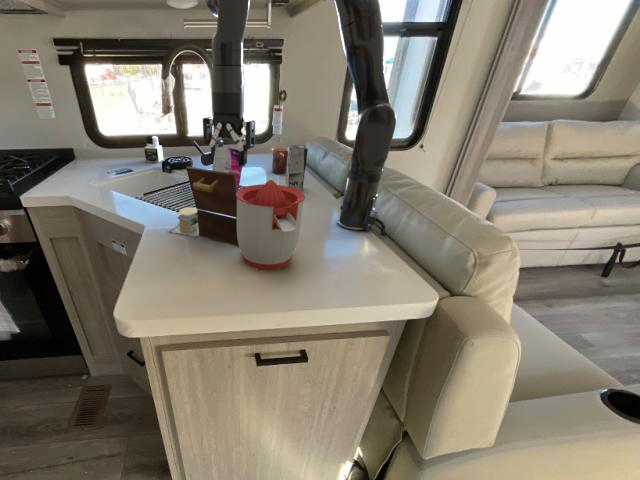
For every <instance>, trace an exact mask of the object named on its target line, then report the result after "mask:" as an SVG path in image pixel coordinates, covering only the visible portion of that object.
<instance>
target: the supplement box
mask: <svg viewBox="0 0 640 480" xmlns="http://www.w3.org/2000/svg"><path fill="white" fill-rule="evenodd" d="M239 151H240V149H237V148H232V147H229V146H218V147H216V148H215V154H214V162H213V161H212V169H211V170H213V171H220V172H226V173H232V174H236V180H237V187H238V190H239V189H240V184H241V178H242V171H243V167H239Z"/></svg>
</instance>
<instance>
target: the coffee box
mask: <svg viewBox="0 0 640 480" xmlns="http://www.w3.org/2000/svg"><path fill="white" fill-rule="evenodd" d="M288 148H289V149H288V160H287V171H286V172H285V173H286V174H285V184H284V186H288V187H292V188H295V189H298V190H300V191H301V192H303V191H304V183H305V176H306V175H305V174H306V168H307V158H308V150H309V148H308V147H307V146H306V145H305V144H288Z"/></svg>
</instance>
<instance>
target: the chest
mask: <svg viewBox="0 0 640 480" xmlns="http://www.w3.org/2000/svg"><path fill="white" fill-rule="evenodd" d="M197 213H198V228H199V235H198V236H199V237H203V238H208V239H211V240H214V241H219V242H222V243H225V244H230V245H234V246H237V247H239V245H238V239H237V218H236V217H231V216H227V215H222V214H218V213H213V212H209V211H204V210H200V209H198V210H197Z"/></svg>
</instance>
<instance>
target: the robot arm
mask: <svg viewBox="0 0 640 480" xmlns="http://www.w3.org/2000/svg"><path fill="white" fill-rule="evenodd" d="M204 2H205V4H206V6H207V9H208V11H209V12H210V13H211V14H212V15H213V16H215V17H217V23H216V30H215V32H214V33H213V35H212V36H211V105H212V112H213V117H211V116H208V117H203V118H202V134H203V135H202V137H203V144H204V145H208V146H209V147H210V158H211V161H212V163H213V162H214V154H215V148H216V147H219V145H220V143H221V141H222V140H223V139H229V140H233V142H234V143H235V144H236V145H237V147H238V150H239V167H242V168H243V167H245V166H246V164H247V163H248V151H249V150H250V149H254V148H255V146H256V121H255V120H245V119H244V112H245V73H244V39H245V36H246V30H247V26H248V19H249V13H250V7H251V5H250V4H251V0H205V1H204ZM333 2H334V5H335V10H336V14H337V20H338V27H339V31H340V32H339V34H340V39H341V43H342V44H341V45H342V49H343V53H344V57H345V61H346V64H347V68H348V71H349V74H350V77H351V80H352V83H353V86H354V91H355V96H356V97H355V98H356V105H357V108H356V109H357V128H356V133H355V138H354V143H353V148H352V152H351V157H350V162H349V167H348V172H347V178H346V183H345V187H344V194H343V198H342V204H341V205H340V208H339V209H340V210H339V211H340V214H339V216H338V217H339V218H338V225H339V226H340V227H342V228H343V229H347V230H350V231H365V232H366V231H367V230H368V229H369V228H370V226H374V225H375V224H376V222H377V223H378V224H379V225H380V227H381V229H380V234H381V235H382V236H386V234H387V232H386V231H385V230H386V225H385V222H383V220H381V219H380V218H379V212H377V211H375V208H376V204H377V200H378V196H379V195H378V192H379V187H380V184H381V181H382V176H383V172H384V168H385V164H386V161H387V159H388V156H389V152H390V149H391V146H392V141H393V138H394V134H395V130H396V125H397V115H396V111H395V110H394V109H393V107H392V104H391V101H390V97H389V93H388V89H387V84H386V78H385V38H384V37H385V36H384V25H383V19H382V12H381V5H380V1H379V0H334V1H333ZM213 127H214V129H215V130H214V131H213ZM243 129H244V131H245V134H244V132H243V131H242V130H243Z"/></svg>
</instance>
